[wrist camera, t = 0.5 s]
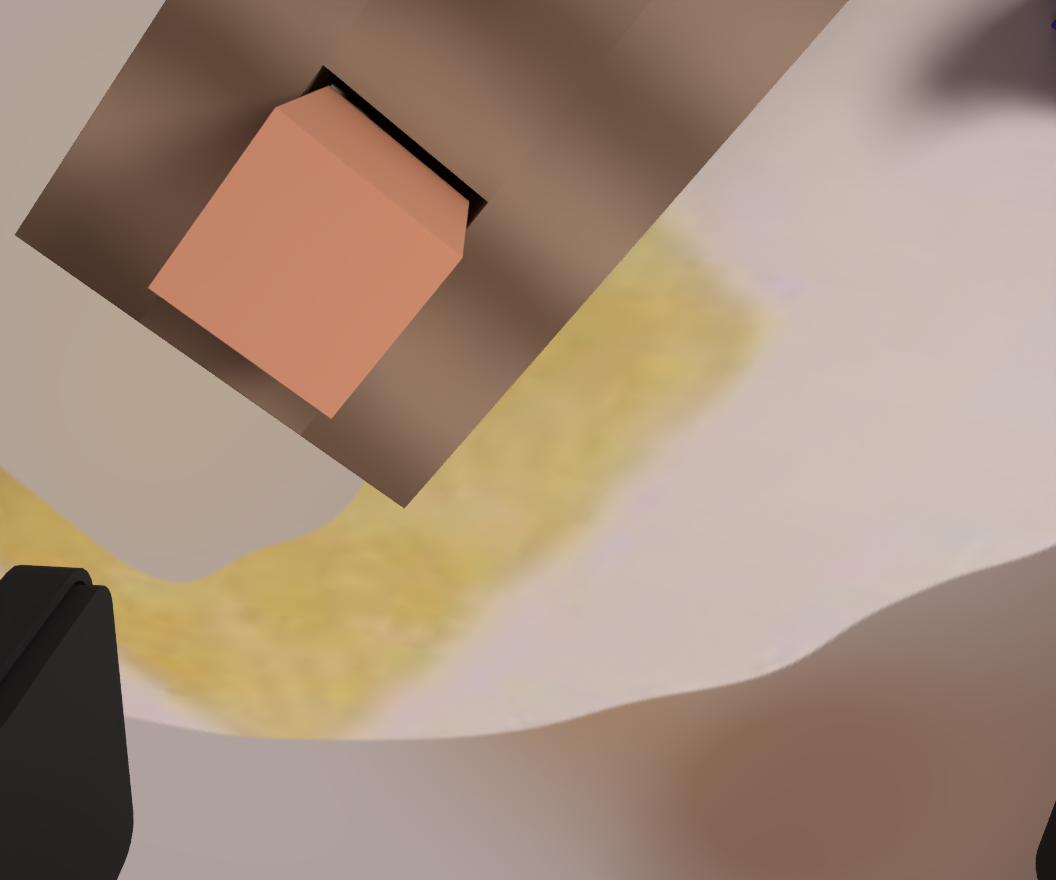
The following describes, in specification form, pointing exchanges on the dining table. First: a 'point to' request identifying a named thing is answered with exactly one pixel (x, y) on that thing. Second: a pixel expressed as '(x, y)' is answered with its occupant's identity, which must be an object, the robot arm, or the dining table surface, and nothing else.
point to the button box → (449, 136)
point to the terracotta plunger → (317, 248)
